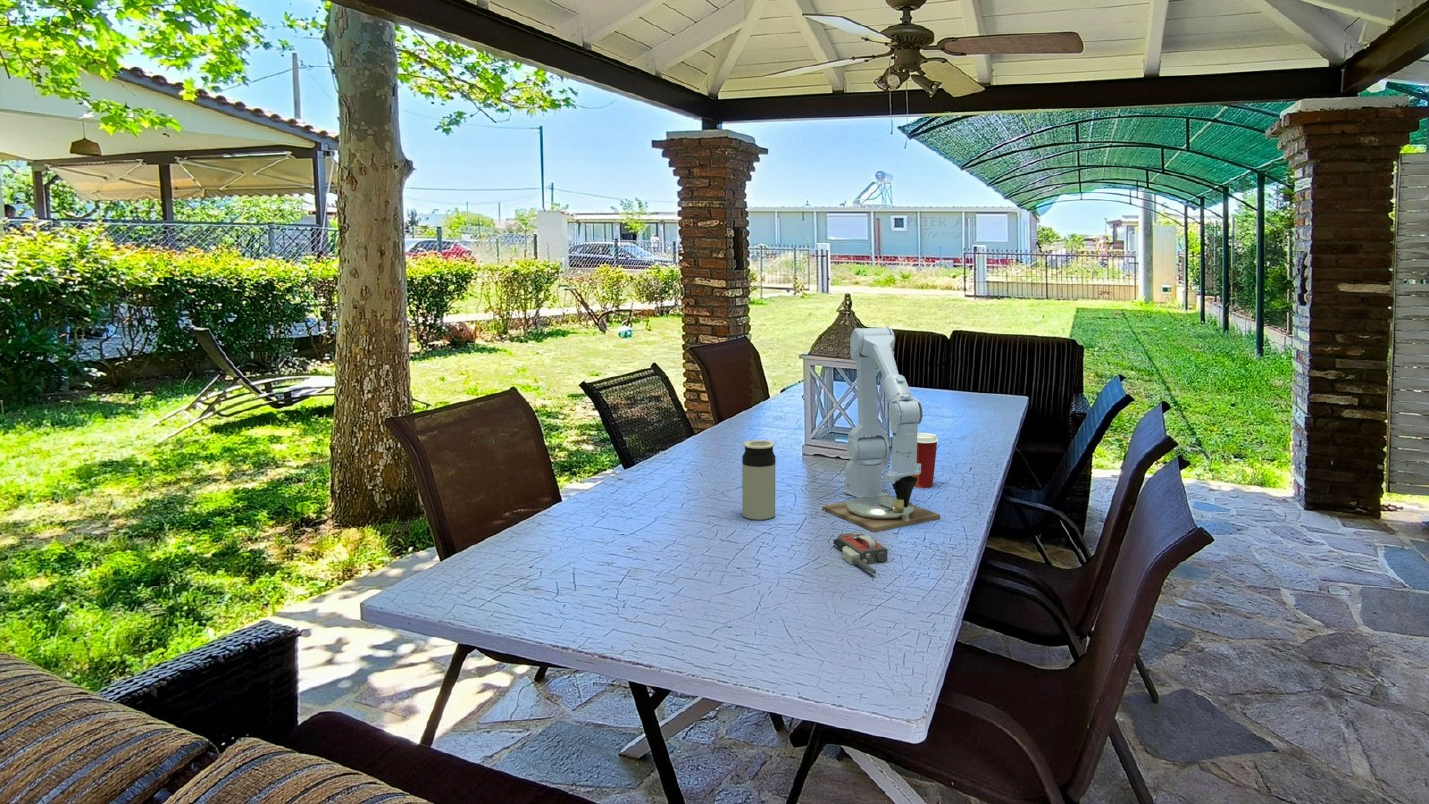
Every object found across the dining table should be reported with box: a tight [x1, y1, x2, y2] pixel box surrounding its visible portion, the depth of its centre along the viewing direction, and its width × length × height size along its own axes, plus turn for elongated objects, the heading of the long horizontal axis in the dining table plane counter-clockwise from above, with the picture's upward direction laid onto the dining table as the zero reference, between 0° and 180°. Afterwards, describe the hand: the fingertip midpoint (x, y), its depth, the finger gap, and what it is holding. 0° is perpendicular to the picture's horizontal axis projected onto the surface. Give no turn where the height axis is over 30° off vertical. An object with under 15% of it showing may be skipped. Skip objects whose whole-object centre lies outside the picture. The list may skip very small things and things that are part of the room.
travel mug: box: [741, 439, 777, 521], centre depth 210 cm, size 8×8×18 cm
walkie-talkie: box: [832, 531, 889, 575], centre depth 181 cm, size 9×4×20 cm
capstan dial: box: [847, 496, 914, 519], centre depth 211 cm, size 16×16×4 cm
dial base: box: [821, 495, 941, 533], centre depth 211 cm, size 20×20×2 cm
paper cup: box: [911, 432, 939, 489], centre depth 236 cm, size 8×8×14 cm
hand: (902, 506), depth 207 cm, fingers closed
